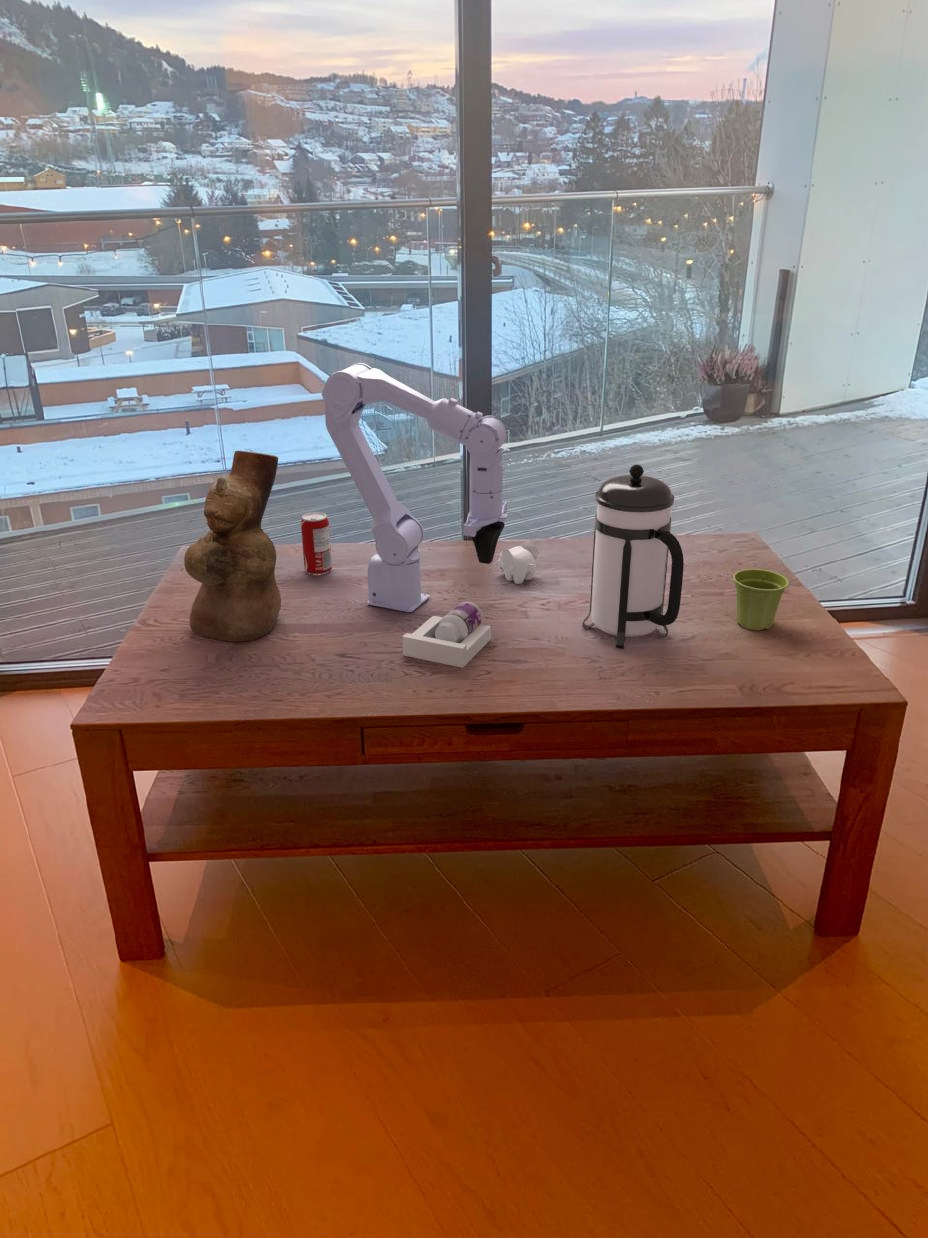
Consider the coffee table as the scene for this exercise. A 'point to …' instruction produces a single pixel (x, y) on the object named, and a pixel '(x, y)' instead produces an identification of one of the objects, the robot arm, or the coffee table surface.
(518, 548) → the elephant figurine
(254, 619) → the ceramic vessel
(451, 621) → the pill bottle
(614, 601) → the coffee press
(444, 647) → the cradle
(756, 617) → the plant pot
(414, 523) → the robot arm
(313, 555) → the soda can
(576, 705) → the coffee table surface
